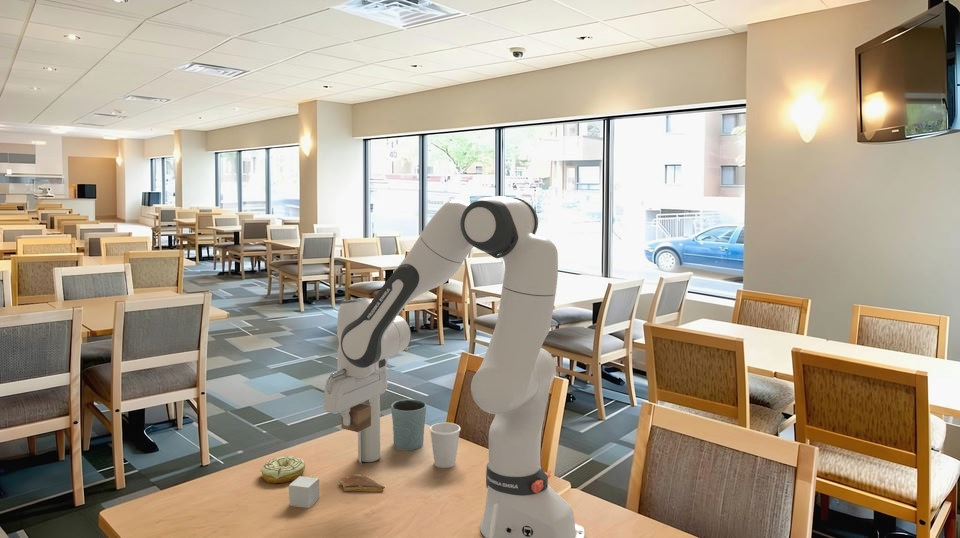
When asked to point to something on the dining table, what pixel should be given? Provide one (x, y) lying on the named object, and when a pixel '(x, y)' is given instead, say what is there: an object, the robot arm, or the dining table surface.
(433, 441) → the dixie cup
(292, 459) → the decorated donut
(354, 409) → the walnut cube
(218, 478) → the dining table surface
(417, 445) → the teal plant pot
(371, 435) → the paper towel roll
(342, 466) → the dining table surface
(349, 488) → the shard
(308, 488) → the grey cube
